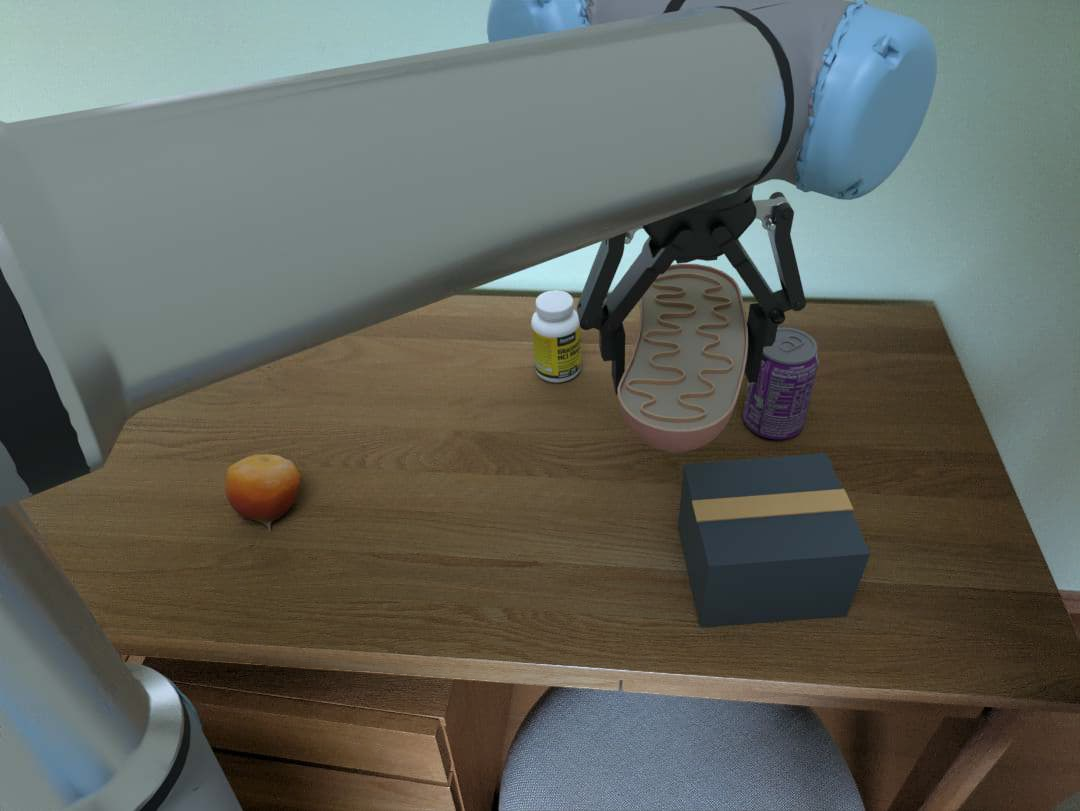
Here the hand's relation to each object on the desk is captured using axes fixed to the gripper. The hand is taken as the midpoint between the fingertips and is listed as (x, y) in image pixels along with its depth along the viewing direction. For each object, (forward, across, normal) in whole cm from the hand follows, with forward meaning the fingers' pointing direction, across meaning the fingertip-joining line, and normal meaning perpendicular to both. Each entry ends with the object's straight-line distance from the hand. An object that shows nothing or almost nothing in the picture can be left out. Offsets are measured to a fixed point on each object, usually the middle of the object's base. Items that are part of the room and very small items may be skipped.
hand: (683, 378), depth 69 cm
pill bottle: (+21, +10, -27) cm, 36 cm away
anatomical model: (0, 0, 0) cm, 0 cm away
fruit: (+21, +44, -8) cm, 50 cm away
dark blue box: (+21, -8, +6) cm, 23 cm away
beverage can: (+21, -15, -14) cm, 29 cm away
